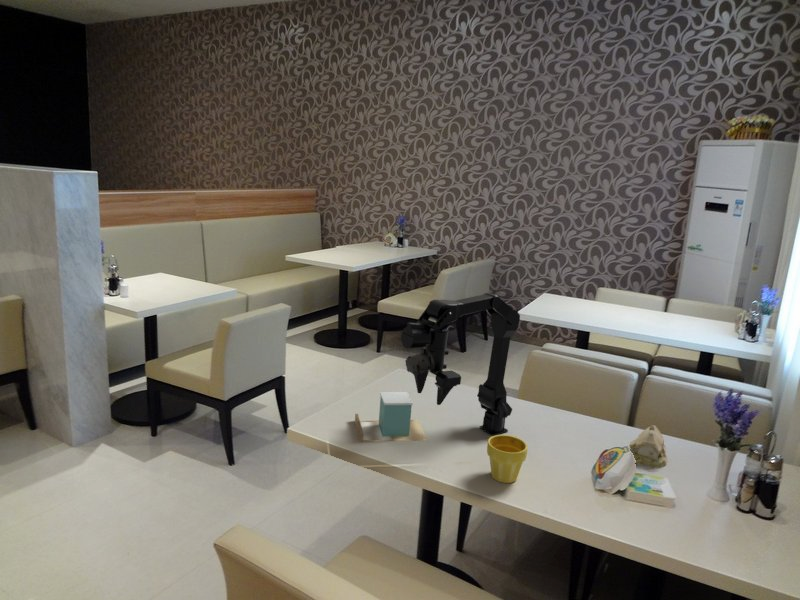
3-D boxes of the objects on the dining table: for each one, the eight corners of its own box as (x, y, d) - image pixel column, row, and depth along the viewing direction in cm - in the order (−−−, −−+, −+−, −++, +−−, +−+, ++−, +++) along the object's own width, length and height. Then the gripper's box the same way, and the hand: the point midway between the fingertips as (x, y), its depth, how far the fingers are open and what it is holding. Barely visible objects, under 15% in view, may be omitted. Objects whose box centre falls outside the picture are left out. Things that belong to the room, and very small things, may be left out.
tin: (404, 423, 179) (407, 392, 177) (409, 436, 171) (412, 403, 169) (377, 424, 178) (380, 392, 175) (382, 436, 170) (384, 403, 167)
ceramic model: (663, 472, 162) (669, 440, 159) (622, 460, 167) (627, 428, 165) (670, 453, 173) (676, 423, 171) (631, 442, 179) (636, 412, 177)
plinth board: (417, 421, 183) (418, 412, 182) (427, 442, 170) (428, 432, 169) (354, 422, 179) (355, 413, 179) (360, 443, 166) (360, 434, 165)
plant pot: (479, 480, 150) (483, 446, 148) (489, 463, 160) (492, 431, 158) (519, 491, 147) (523, 456, 144) (526, 472, 156) (530, 439, 154)
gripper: (393, 338, 163) (387, 390, 166) (432, 358, 148) (425, 415, 151) (425, 336, 169) (418, 386, 172) (465, 355, 154) (458, 409, 157)
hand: (428, 398), depth 163 cm, fingers open, 9 cm apart
